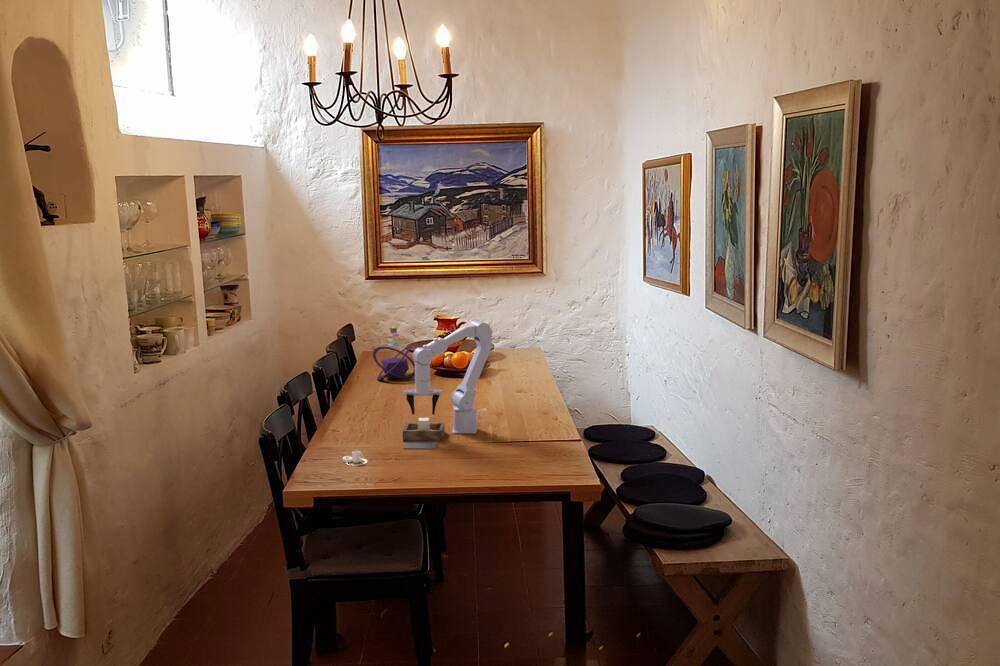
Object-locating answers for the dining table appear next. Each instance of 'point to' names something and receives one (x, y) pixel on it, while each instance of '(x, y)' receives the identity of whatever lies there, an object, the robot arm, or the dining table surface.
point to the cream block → (423, 424)
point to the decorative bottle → (394, 360)
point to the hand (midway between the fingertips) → (423, 413)
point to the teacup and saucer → (355, 458)
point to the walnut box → (423, 432)
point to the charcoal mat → (420, 445)
